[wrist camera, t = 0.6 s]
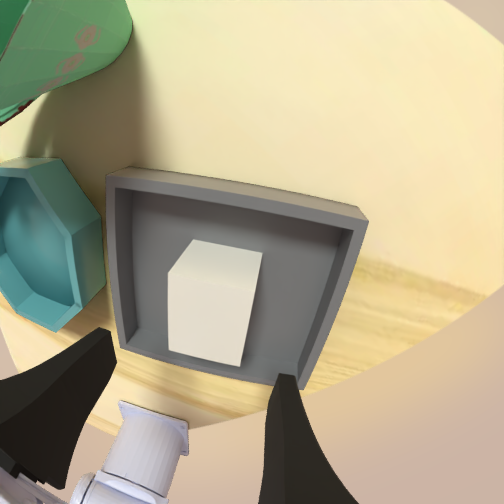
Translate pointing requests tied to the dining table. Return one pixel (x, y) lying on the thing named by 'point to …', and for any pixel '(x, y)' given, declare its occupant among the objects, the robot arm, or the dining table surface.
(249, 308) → the off-white smooth cube
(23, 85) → the mug
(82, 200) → the bowl
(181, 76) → the dining table surface
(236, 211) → the parts tray
